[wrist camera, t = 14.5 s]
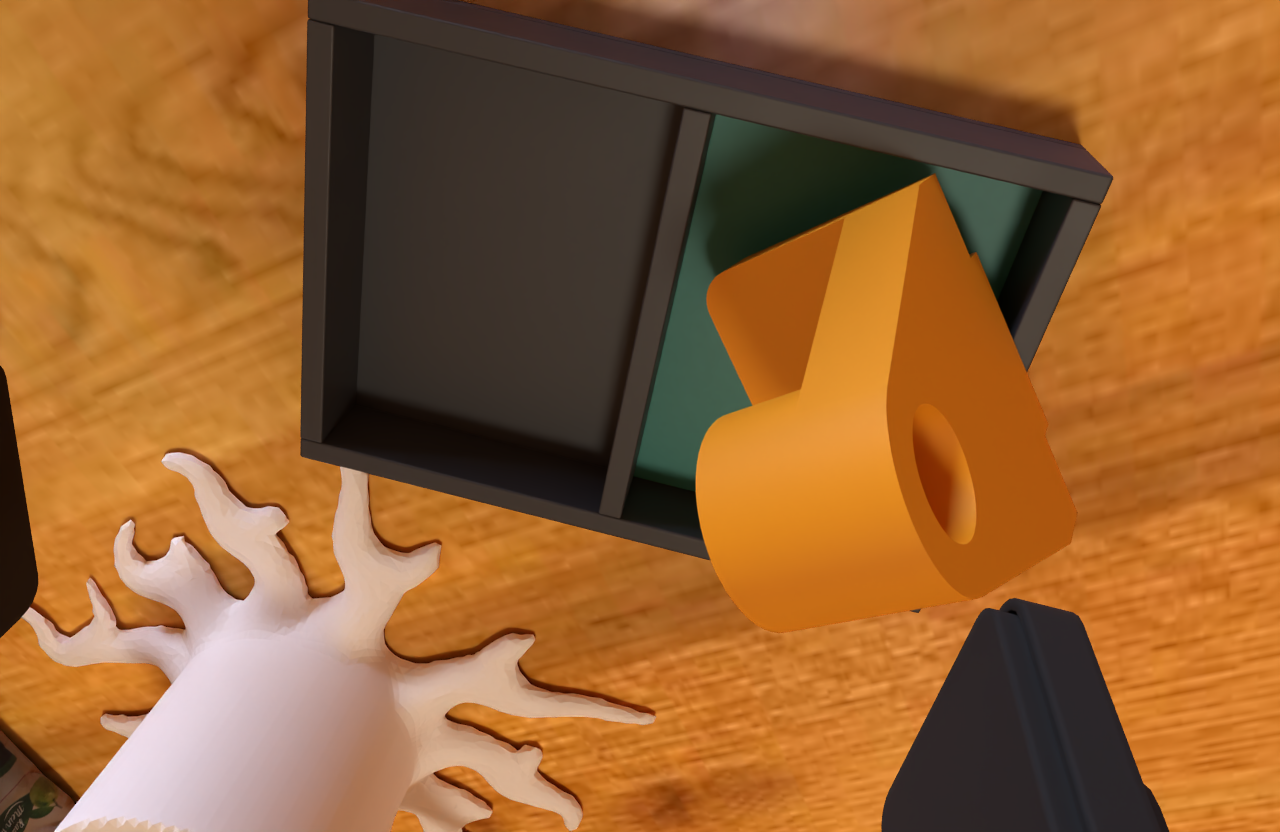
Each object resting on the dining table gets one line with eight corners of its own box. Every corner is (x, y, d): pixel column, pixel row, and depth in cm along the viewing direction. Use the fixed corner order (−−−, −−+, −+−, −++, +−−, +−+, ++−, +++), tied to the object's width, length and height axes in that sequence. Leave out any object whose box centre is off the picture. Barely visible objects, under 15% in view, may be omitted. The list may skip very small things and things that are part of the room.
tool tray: (342, 409, 38) (299, 457, 34) (360, -23, 30) (307, -12, 27) (910, 552, 37) (919, 614, 33) (1082, 144, 29) (1115, 177, 26)
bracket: (730, 262, 32) (522, 391, 22) (941, 168, 27) (801, 276, 18) (862, 548, 33) (724, 786, 24) (1080, 500, 29) (1021, 764, 19)
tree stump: (729, 785, 44) (704, 1045, 34) (345, 958, 56) (244, 1190, 46) (274, 337, 36) (73, 505, 27) (-61, 646, 48) (-287, 843, 38)
